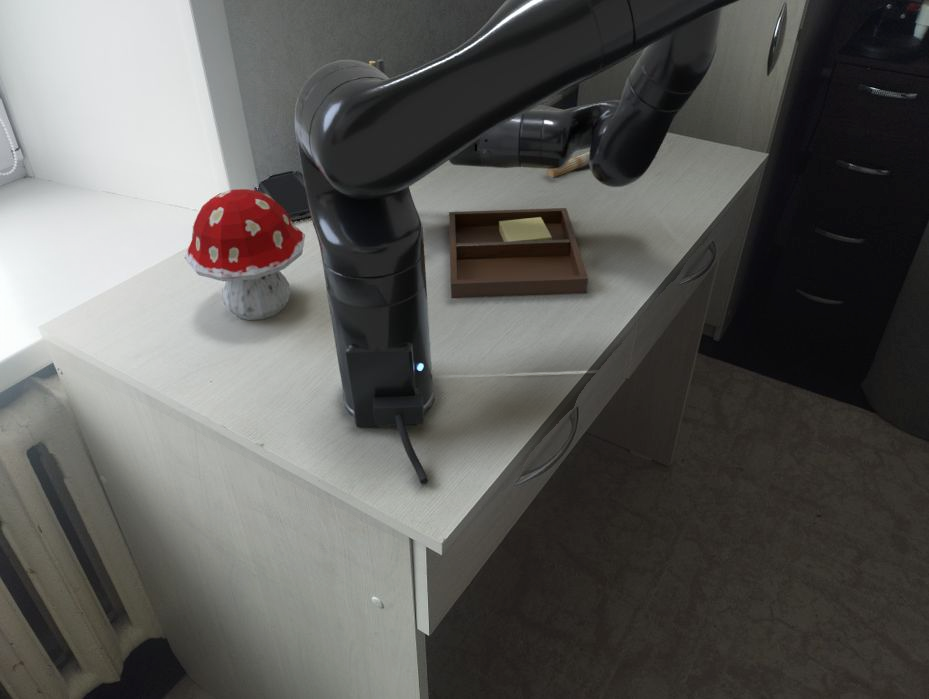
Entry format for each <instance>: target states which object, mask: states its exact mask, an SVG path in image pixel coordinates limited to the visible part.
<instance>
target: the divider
mask: <svg viewBox="0 0 929 699" xmlns="http://www.w3.org/2000/svg"><path fill="white" fill-rule="evenodd" d="M456 248H457V259H479V258H508V257H536V256H564V255H569V251H570V240H569V239H567V240H539V241H511V242H482V243H457V244H456Z"/></svg>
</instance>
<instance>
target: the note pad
mask: <svg viewBox="0 0 929 699" xmlns="http://www.w3.org/2000/svg"><path fill="white" fill-rule="evenodd" d="M499 232H500V234H501V236H502V238H503V241H504V242H511V241H539V240H552V236H551V235H550V233H549V231H548V229H547V227H546V226H545V224H544V222H543V220H542V218H541V217H537V218H527V219H517V220H507V221H499Z"/></svg>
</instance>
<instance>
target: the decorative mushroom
mask: <svg viewBox="0 0 929 699" xmlns="http://www.w3.org/2000/svg"><path fill="white" fill-rule="evenodd" d="M191 232H192V234H191V240H190V243H189V245H188V248H187V251H186V252H185V255H184V259H185V261H186V263H187V264H188V265H189V266H190V267H191V268H192V269H193V271H195V273H196V274H197V275H198V276H201V277H205V278H209V279H211V280H212V279H213V280H216V281H221V282H225V283H224V286H223V290H222V302H223V304H224V305H225V307H226V308H227V309H228V310H229V311H230V312H231V313H232V314H233V315H234V316H236V317H237V318H241V319H243V320H247V321H256V320H257V321H258V320H265V319H267V318H268V319H269V318H270V317H272V316H275V315H277V314H279V313H280V312H281V311H282V310H283V309H284V308H285V307H286V305H287V304H288V302H289V300H290V296H291V295H290V294H291V285H290V283H289V281H288V279H287V277H286V276H285V275H284V274H283V273H282V272H281V271H282V270H285V269H286V268H287V267H289V266H290V265H291V264H293V263H294V262H295V261H296V260H297V259H299V258H300V257H301V256H302V255H303V251H304V247H305V246H304V245H305V240H306V234H305V233H304V232H303V231H302V230H301V229H300V228H298V227H297V226H296V225H295V224H294V223H293V221H291V220H290V218H289V216H288V214H287V212H286V211H285V209H284V208H282V207H281V206H280V205H279V204H278V203H277V202H275V201H274V200H273V199H272V198H270V197H269V196H268V195H266V194H264V193H261V192H258V191H256V190H255V189H249V188H240V189H239V188H238V189H231V190H230V189H229V190H226V191H223V192H220V193H218V194H216V195H214V196H213V197H211V198H210V199H209V200H208V201H207V202H205V203H204V204H203V205H201V207H200V210H199V212H198V214H197V215H196V218H195V220H194V223H193V225H192V231H191Z"/></svg>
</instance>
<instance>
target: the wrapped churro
mask: <svg viewBox="0 0 929 699" xmlns="http://www.w3.org/2000/svg"><path fill="white" fill-rule="evenodd" d="M589 153H590V150H589V151H587V152H584V153H583V154H580V155H578V156H575V157H572V158H570V159H569V161H568V162H567V164H566V165H565V166H564V167H562V168H560V169H546V175H547V176H549V177H550V178H556V177H559V176H562V175H564V174H568V173H570V172H572V171H575V170H578V169H579V168H582V167H583V166H587V165H588V164H589Z"/></svg>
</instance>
